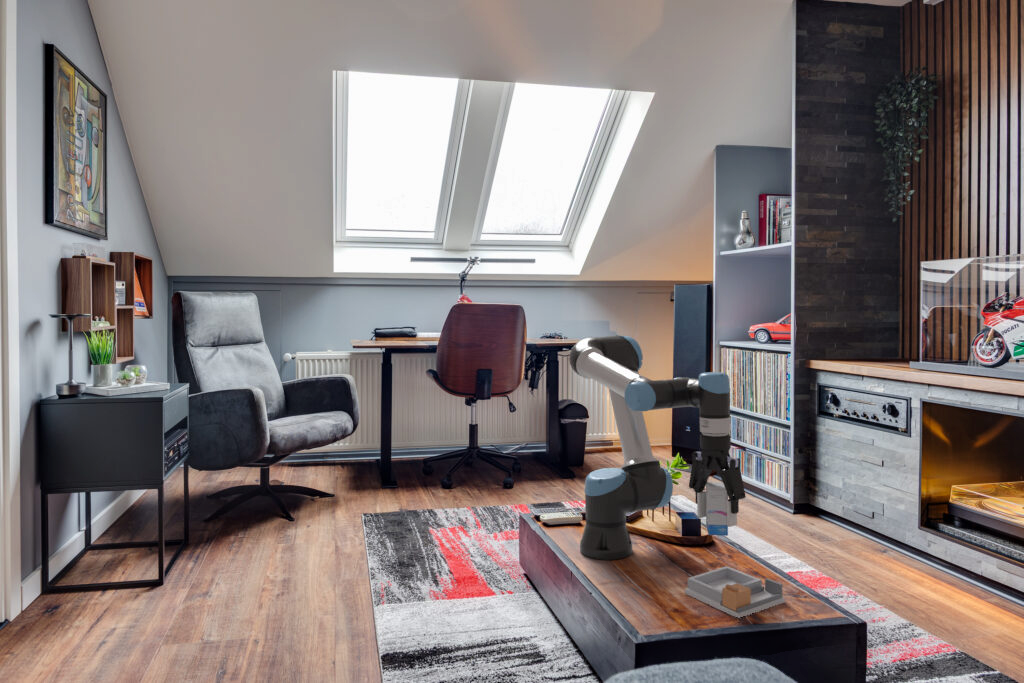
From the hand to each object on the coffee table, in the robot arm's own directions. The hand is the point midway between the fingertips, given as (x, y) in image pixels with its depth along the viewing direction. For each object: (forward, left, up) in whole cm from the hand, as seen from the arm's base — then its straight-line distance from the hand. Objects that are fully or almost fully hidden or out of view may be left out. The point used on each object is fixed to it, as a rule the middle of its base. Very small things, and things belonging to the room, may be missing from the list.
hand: (716, 521), depth 183 cm
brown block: (+14, -9, -15) cm, 22 cm away
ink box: (0, 0, -3) cm, 3 cm away
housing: (+8, -3, -16) cm, 19 cm away
